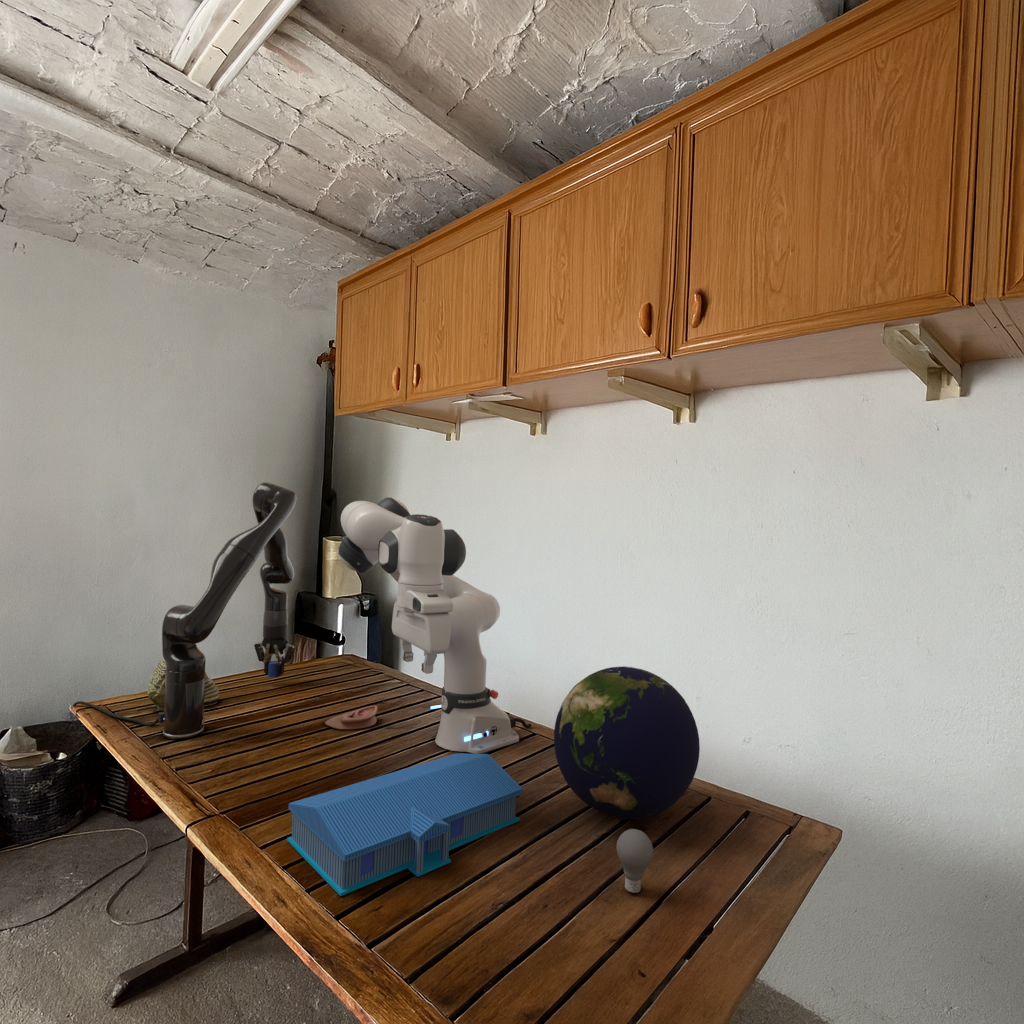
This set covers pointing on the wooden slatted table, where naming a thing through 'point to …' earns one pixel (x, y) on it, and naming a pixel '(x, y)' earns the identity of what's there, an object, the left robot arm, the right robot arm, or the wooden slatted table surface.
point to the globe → (626, 742)
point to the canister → (273, 669)
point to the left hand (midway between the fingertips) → (273, 674)
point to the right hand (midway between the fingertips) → (417, 666)
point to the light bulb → (634, 857)
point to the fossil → (158, 688)
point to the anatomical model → (354, 719)
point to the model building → (402, 819)
